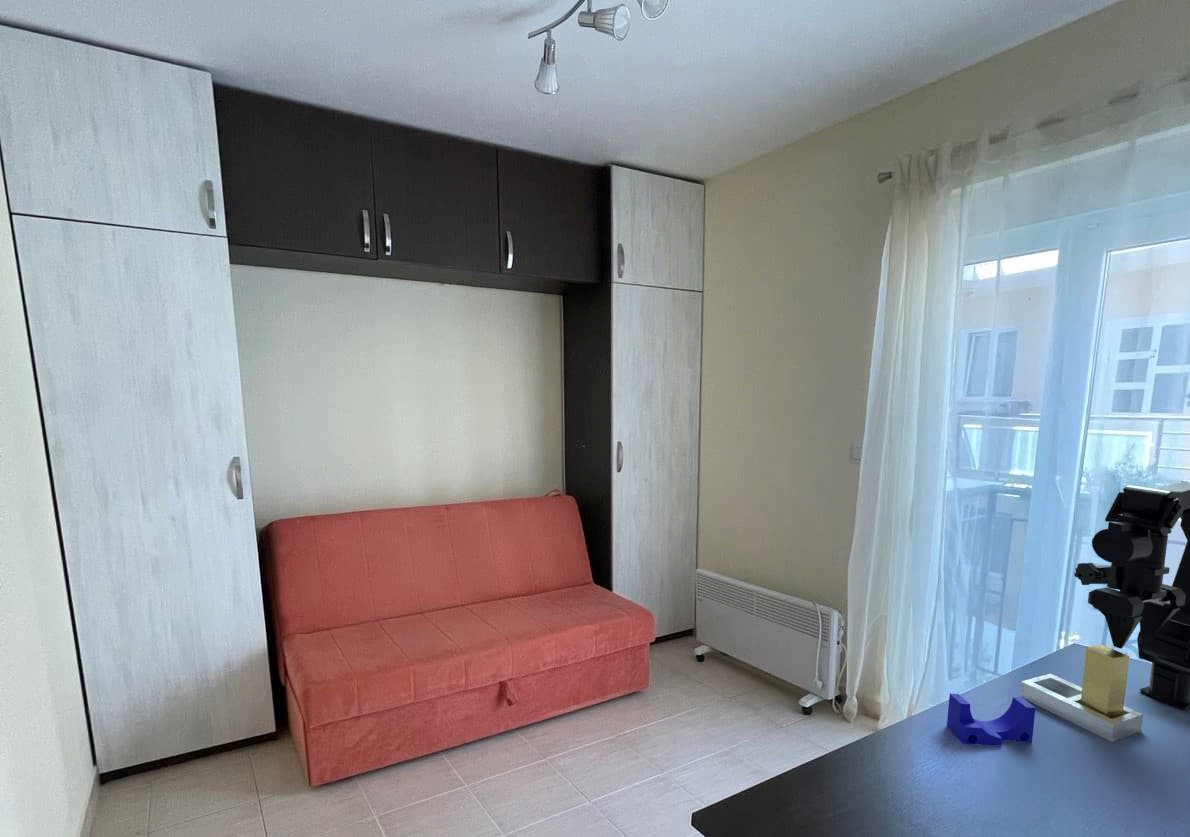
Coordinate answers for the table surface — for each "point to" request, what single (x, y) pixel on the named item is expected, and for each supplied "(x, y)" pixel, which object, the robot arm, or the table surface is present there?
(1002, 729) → the cable clip
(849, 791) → the table surface
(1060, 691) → the metal frame
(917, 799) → the table surface
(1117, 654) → the brass peg
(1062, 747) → the table surface
